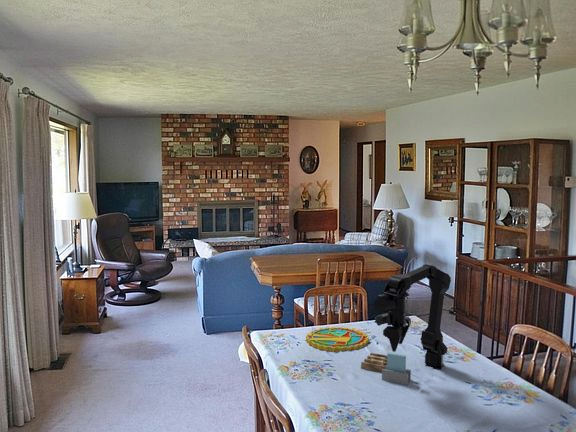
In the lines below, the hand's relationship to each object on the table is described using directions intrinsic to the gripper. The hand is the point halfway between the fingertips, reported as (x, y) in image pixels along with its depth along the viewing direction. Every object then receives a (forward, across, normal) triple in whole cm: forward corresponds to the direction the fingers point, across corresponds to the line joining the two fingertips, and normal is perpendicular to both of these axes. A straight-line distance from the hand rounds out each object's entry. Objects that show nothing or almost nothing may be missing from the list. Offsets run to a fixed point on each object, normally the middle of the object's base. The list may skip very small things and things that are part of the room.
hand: (397, 347), depth 198 cm
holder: (+13, +2, 0) cm, 13 cm away
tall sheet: (+12, +2, 0) cm, 12 cm away
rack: (+13, -9, -11) cm, 19 cm away
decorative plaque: (+13, -31, -38) cm, 50 cm away
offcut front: (+12, -9, -11) cm, 19 cm away
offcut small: (+12, -5, -10) cm, 16 cm away
